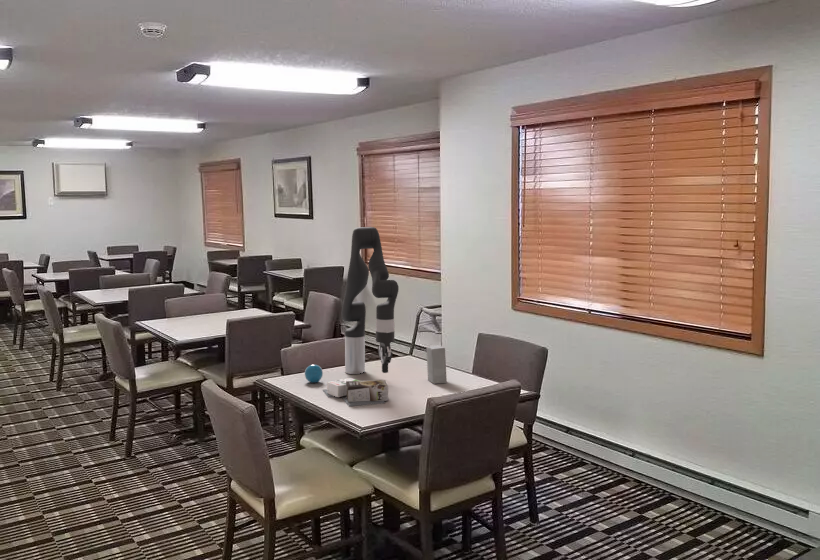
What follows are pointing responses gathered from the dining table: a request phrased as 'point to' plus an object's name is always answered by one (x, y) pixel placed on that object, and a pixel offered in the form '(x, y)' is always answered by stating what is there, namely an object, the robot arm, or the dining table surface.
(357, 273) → the robot arm
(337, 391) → the ink box
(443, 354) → the skincare box
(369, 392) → the coffee box
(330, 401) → the dining table surface
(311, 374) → the ball
